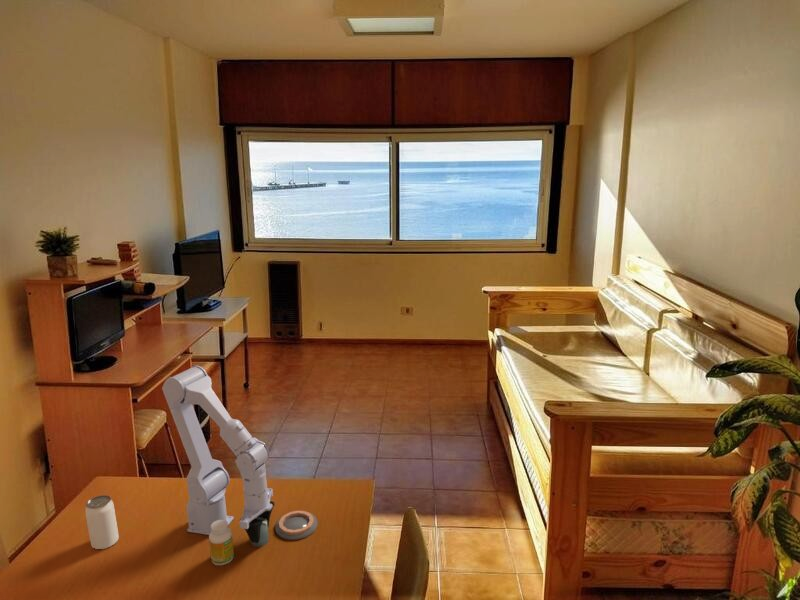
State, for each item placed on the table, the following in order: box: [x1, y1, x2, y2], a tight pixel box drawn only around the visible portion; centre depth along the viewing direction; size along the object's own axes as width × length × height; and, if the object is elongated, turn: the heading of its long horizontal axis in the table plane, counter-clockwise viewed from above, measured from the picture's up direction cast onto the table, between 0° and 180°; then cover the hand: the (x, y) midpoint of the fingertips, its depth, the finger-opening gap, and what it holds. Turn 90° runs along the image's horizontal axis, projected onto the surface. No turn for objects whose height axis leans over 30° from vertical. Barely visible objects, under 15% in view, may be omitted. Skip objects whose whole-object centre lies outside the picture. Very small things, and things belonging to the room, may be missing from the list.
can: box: [84, 494, 120, 550], centre depth 148 cm, size 6×6×12 cm
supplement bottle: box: [208, 520, 235, 566], centre depth 142 cm, size 5×5×10 cm
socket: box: [274, 510, 318, 541], centre depth 154 cm, size 11×11×2 cm
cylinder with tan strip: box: [250, 517, 270, 548], centre depth 148 cm, size 5×4×6 cm
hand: (259, 535), depth 149 cm, fingers closed on cylinder with tan strip, 4 cm apart
